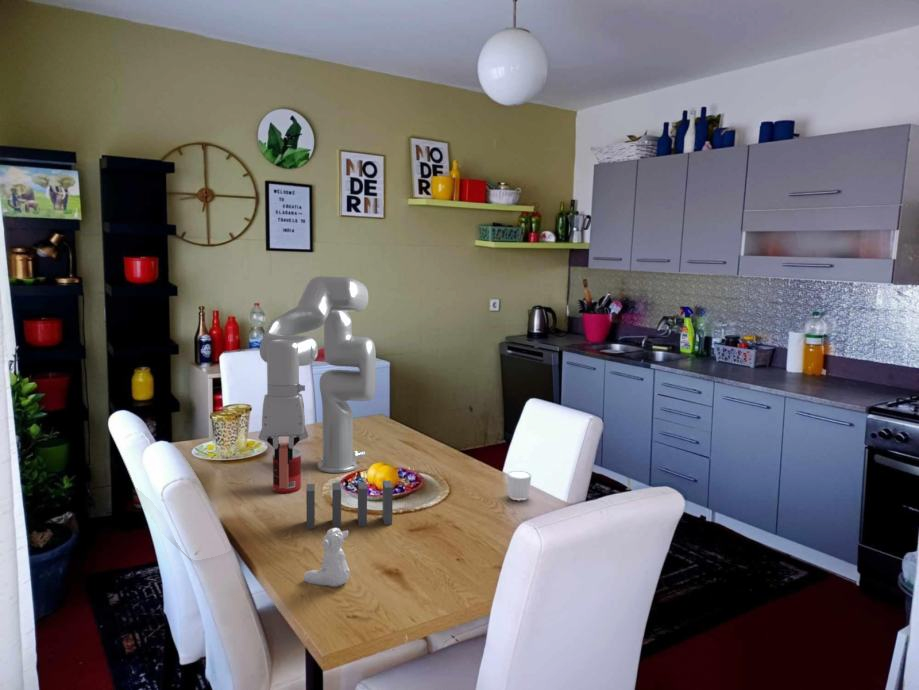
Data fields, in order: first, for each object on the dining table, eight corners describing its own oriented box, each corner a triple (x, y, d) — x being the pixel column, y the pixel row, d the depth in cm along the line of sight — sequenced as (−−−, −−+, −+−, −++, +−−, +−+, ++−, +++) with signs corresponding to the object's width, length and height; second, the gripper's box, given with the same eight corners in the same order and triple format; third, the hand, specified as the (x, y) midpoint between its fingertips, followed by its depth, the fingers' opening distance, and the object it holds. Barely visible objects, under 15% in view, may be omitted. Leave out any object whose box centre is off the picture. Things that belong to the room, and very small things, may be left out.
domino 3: (365, 518, 176) (365, 481, 174) (366, 525, 171) (367, 488, 170) (357, 518, 175) (357, 481, 174) (358, 526, 171) (359, 488, 169)
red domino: (288, 480, 170) (288, 442, 169) (287, 487, 165) (287, 448, 164) (280, 481, 170) (279, 443, 168) (279, 488, 165) (279, 449, 164)
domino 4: (389, 516, 177) (390, 480, 176) (392, 524, 172) (392, 487, 171) (382, 517, 177) (382, 480, 175) (384, 524, 172) (384, 487, 171)
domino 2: (340, 519, 175) (340, 482, 173) (340, 527, 170) (341, 489, 168) (332, 519, 174) (332, 483, 173) (332, 527, 169) (333, 490, 168)
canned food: (306, 486, 197) (306, 450, 195) (290, 495, 190) (290, 458, 188) (283, 482, 200) (283, 447, 198) (267, 491, 192) (267, 454, 190)
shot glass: (533, 495, 195) (534, 472, 194) (525, 503, 189) (526, 479, 188) (511, 491, 198) (512, 468, 197) (503, 499, 192) (504, 475, 191)
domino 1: (314, 520, 173) (314, 483, 172) (314, 528, 168) (314, 490, 167) (306, 521, 173) (306, 484, 171) (306, 529, 168) (306, 491, 166)
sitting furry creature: (336, 565, 150) (336, 514, 148) (363, 578, 144) (363, 526, 142) (302, 581, 142) (301, 527, 140) (328, 595, 137) (328, 540, 135)
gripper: (315, 386, 169) (315, 457, 172) (251, 387, 166) (252, 459, 168) (316, 393, 162) (316, 466, 165) (248, 394, 159) (249, 468, 161)
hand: (283, 462), depth 167 cm, fingers closed on red domino, 1 cm apart
